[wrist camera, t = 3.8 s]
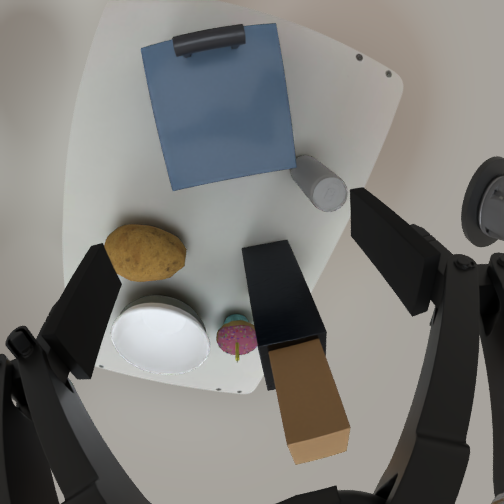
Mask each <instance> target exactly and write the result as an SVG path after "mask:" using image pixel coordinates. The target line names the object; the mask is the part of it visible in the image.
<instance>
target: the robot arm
mask: <svg viewBox="0 0 504 504" xmlns="http://www.w3.org/2000/svg"><path fill="white" fill-rule="evenodd" d="M350 204H351V237H352V238H353V239H354V240H355V242H357V244H358V245H359V246H360V248H361V249H362V250H363V251H364V253H365V254H366V255H367V256H368V258H369V259H370V260H371V262H372V263H373V264H374V265H375V266H376V268H377V269H378V271H379V272H380V273H381V274H382V276H383V277H384V278H385V280H386V281H387V282H388V284H389V285H390V286H391V287H392V289H393V290H394V292H395V293H396V295H397V296H398V297H399V299H400V300H401V301H402V303H403V304H404V306H405V307H406V308H407V310H408V311H409V313H410V314H411V315H412V316H415V315H418V314H420V313H423V312H426V311H427V310H428V307H429V303H430V299H431V301H432V302H433V303H434V304H435V309H434V312H433V316H432V319H431V322H430V326H431V330H430V335H429V340H428V345H427V349H426V354H425V358H424V363H423V366H422V370H421V374H420V378H419V381H418V385H417V389H416V392H415V395H414V399H413V402H412V405H411V408H410V412H409V414H408V417H407V420H406V423H405V426H404V429H403V431H402V434H401V437H400V439H399V442H398V445H397V447H396V449H395V452H394V454H393V457H392V459H391V461H390V463H389V465H388V467H387V469H386V470H385V472H384V474H383V476H382V477H381V479H380V481H379V483H378V485H377V487H376V489H375V491H374V493H373V494H371V493H367V492H361V491H354V490H337V486H332V487H329V488H325V489H321V490H317V491H313V492H309V493H304V494H300V495H295V496H293V497H291V498H288V499H286V500H284V501H282V502H279V503H276V504H455V501H456V498H457V496H458V493H459V490H460V487H461V484H462V481H463V477H464V474H465V471H466V467H467V464H468V461H469V455H470V447H469V445H468V444H466V435H467V431H468V426H469V421H470V416H471V411H472V404H473V398H474V391H475V384H476V376H477V366H478V353H479V334H480V338H481V343H482V348H483V353H484V358H485V364H486V370H487V376H488V383H489V390H490V400H491V410H492V423H493V424H492V425H493V483H494V494H495V499H494V500H493V502H492V503H491V504H504V253H494V254H493V255H491V258H490V261H489V264H476V262H475V261H474V260H473V259H471V258H470V257H468V256H465V255H462V254H454V255H453V254H452V253H451V252H450V251H449V250H447V249H446V248H445V247H444V246H443V245H442V244H441V243H440V242H438V241H437V240H436V239H435V238H434V237H433V236H432V235H430V234H429V233H428V232H427V231H426V230H425V229H424V228H422V227H419V226H417V225H415V224H412V225H409V224H408V223H407V222H406V221H404V220H403V219H402V218H401V217H400V216H398V215H397V214H396V213H395V212H394V211H392V210H391V209H390V208H389V207H388V206H386V205H385V204H384V203H383V202H381V201H380V200H379V199H378V198H376V197H375V196H373V195H372V194H371V193H370V192H369V191H367V190H366V189H365V188H363V187H361V188H355V189H350ZM477 223H478V226H479V229H480V230H481V231H482V232H483V233H484V234H486V235H487V236H489V237H492V238H496V239H499V240H503V241H504V175H498V176H496V177H494V178H493V179H492V180H491V181H490V182H489V183H488V184H487V186H486V187H485V189H484V191H483V193H482V195H481V198H480V201H479V205H478V210H477ZM121 285H122V283H121V281H120V279H119V277H118V275H117V273H116V271H115V269H114V267H113V265H112V263H111V260H110V258H109V256H108V254H107V252H106V249H105V247H104V245H103V243H101V244H97V245H93V246H91V247H90V249H89V250H88V252H87V253H86V255H85V257H84V258H83V260H82V261H81V263H80V265H79V266H78V268H77V269H76V271H75V273H74V274H73V276H72V278H71V279H70V281H69V283H68V285H67V286H66V288H65V290H64V292H63V294H62V295H61V297H60V299H59V300H58V301H57V302H56V304H55V305H54V306H53V307H52V309H51V311H50V313H49V316H48V317H47V319H46V322H44V324H43V326H42V328H41V330H40V332H39V334H38V336H37V338H36V339H35V338H34V336H33V335H32V334H31V332H30V331H29V330H28V328H27V327H26V326H20V327H18V328H16V329H15V330H13V331H12V332H11V333H10V335H9V336H8V338H7V340H6V346H7V348H8V349H9V350H10V351H11V353H12V354H13V355H14V356H15V357H16V359H14V360H12V361H9V360H8V358H7V357H6V356H5V355H4V354H0V504H59V501H58V497H57V493H56V490H55V486H54V482H53V477H52V473H51V470H52V472H53V474H54V477H55V479H56V481H57V483H58V485H59V487H60V489H61V491H62V493H63V495H64V498H65V501H64V502H63V503H61V504H151V503H150V502H149V501H148V500H147V499H146V498H145V497H144V496H143V494H142V493H141V492H140V491H139V489H138V488H137V487H136V485H135V484H134V483H133V482H132V480H131V479H130V478H129V476H128V475H127V474H126V472H125V471H124V469H123V468H122V467H121V465H120V464H119V462H118V461H117V459H116V458H115V457H114V455H113V454H112V452H111V451H110V449H109V447H108V446H107V444H106V443H105V441H104V440H103V438H102V436H101V435H100V433H99V432H98V430H97V428H96V427H95V425H94V423H93V422H92V420H91V418H90V416H89V414H88V412H87V411H86V409H85V407H84V405H83V403H82V401H81V399H80V397H79V396H78V394H77V392H76V390H75V388H74V385H73V383H72V382H71V381H70V380H69V379H68V375H69V372H71V373H72V374H73V375H74V376H75V377H76V378H77V379H91V377H92V373H93V370H94V366H95V363H96V359H97V356H98V353H99V349H100V346H101V343H102V340H103V336H104V333H105V330H106V327H107V324H108V321H109V318H110V315H111V313H112V310H113V307H114V304H115V301H116V299H117V296H118V293H119V290H120V288H121ZM12 399H13V400H15V401H16V404H17V405H16V406H15V405H14V404H13V402H12Z"/></svg>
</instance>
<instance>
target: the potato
mask: <svg viewBox="0 0 504 504" xmlns="http://www.w3.org/2000/svg"><path fill="white" fill-rule="evenodd" d="M104 247H105V249H106V252H107V254H108V256H109V258H110V260H111V263H112V265H113V267H114V269H115V271H116V273H117V274H119V275H121V276H122V277H124V278H126V279H128V280H130V281H137V282H145V281H154V280H163V279H166V278H170V277H171V276H173V275H174V274H175V273H176V272H177V271H178V270H180V269H181V268H182V267H184V266H185V258H186V250H187V249H186V248H185V246H184V245H183V243H182V242H181V241H180V239H179V238H178V237H177V236H175V235H173V234H171V233H169V232H166V231H164V230H161V229H159V228H156V227H153V226H149V225H137V224H129V225H123V226H121V227H118V228H117V229H116V230H114V231H113V232H112V233H111V234H110V235H109V236H108V237H107V239H106V242H105V245H104Z"/></svg>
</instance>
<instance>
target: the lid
mask: <svg viewBox="0 0 504 504" xmlns="http://www.w3.org/2000/svg"><path fill="white" fill-rule="evenodd" d="M141 53H142V58H143V64H144V69H145V74H146V79H147V84H148V89H149V94H150V99H151V103H152V108H153V113H154V117H155V122H156V126H157V130H158V135H159V139H160V143H161V147H162V151H163V155H164V159H165V163H166V167H167V171H168V175H169V179H170V183H171V187H172V190H173V191H176V190H180V189H185V188H189V187H194V186H199V185H203V184H208V183H213V182H218V181H223V180H228V179H233V178H239V177H244V176H250V175H255V174H261V173H267V172H273V171H279V170H285V169H292V168H297V165H296V156H295V147H294V139H293V131H292V123H291V116H290V108H289V101H288V94H287V87H286V80H285V74H284V68H283V61H282V55H281V49H280V44H279V38H278V32H277V27H276V23H272V24H260V25H250V26H243V24H239V25H232V26H225V27H219V28H213V29H207V30H202V31H197V32H192V33H188V34H183V35H179V36H175V37H173V39H172V40H168V41H165V42H161V43H157V44H154V45H150V46H147V47H144V48H141Z"/></svg>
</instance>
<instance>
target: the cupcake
mask: <svg viewBox="0 0 504 504" xmlns="http://www.w3.org/2000/svg"><path fill="white" fill-rule="evenodd" d="M216 339H217V343H218V345H219V347H220V348H221V349H222V350H223V351H225V352H226V353H229V354H231V355H236V361H237V362H238V361H239V355H242V354H246V353H249V352H250V351H253V350H254V349H255V348H256V347H257V340H256V334H255V328H254V325H253V324H251V323H249V322H248V320H247V318H246V317H244V316H243V315H240V314H234V315H230V316H229V317H227V318H226V320H225V322H224V324H223V326H222V327H221V328H220V329H219V330H218V332H217V337H216Z"/></svg>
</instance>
